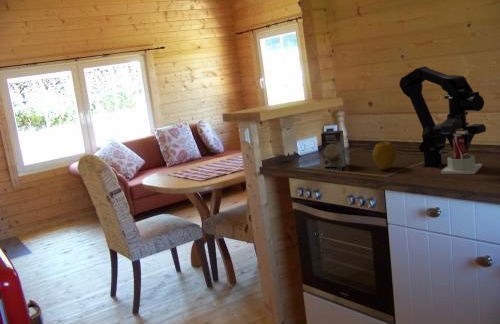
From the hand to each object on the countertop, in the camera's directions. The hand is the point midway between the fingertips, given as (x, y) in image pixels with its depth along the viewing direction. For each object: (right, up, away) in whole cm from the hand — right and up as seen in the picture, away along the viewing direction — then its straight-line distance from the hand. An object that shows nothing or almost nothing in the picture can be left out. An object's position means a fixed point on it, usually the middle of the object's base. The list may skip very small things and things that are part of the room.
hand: (460, 150), depth 198 cm
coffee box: (-41, -6, +41) cm, 58 cm away
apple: (-23, -7, +21) cm, 32 cm away
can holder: (+1, -7, +1) cm, 7 cm away
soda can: (+1, -5, +1) cm, 6 cm away
